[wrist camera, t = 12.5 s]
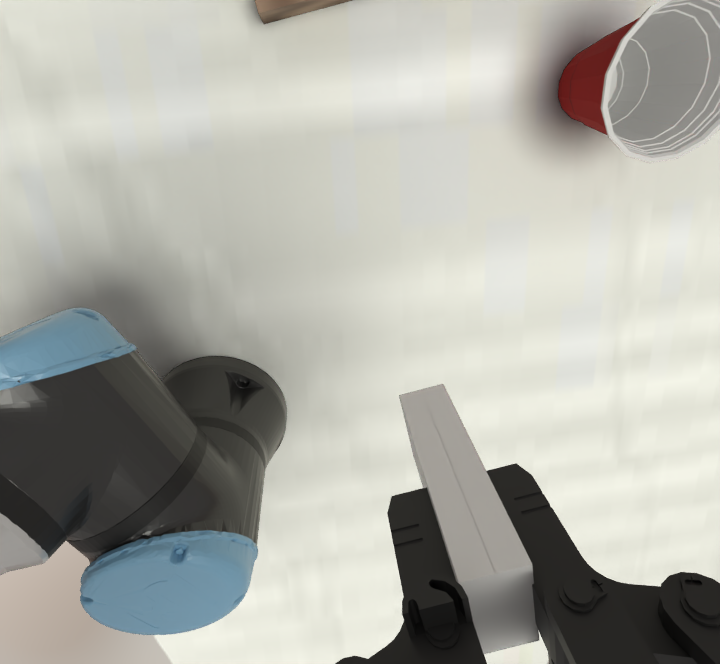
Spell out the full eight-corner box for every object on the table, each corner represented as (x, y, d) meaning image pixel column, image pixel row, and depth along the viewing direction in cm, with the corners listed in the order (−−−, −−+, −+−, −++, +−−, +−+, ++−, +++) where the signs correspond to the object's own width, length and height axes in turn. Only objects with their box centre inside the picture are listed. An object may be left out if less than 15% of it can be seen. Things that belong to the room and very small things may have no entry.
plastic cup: (518, 148, 43) (588, 160, 32) (544, 11, 38) (637, -28, 27) (623, 153, 44) (724, 167, 33) (661, 21, 39) (793, -12, 29)
